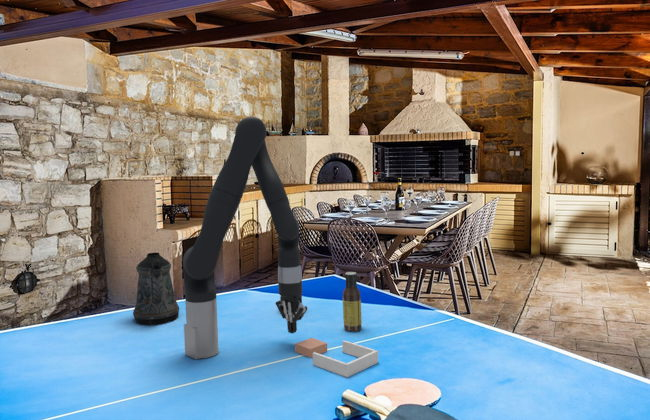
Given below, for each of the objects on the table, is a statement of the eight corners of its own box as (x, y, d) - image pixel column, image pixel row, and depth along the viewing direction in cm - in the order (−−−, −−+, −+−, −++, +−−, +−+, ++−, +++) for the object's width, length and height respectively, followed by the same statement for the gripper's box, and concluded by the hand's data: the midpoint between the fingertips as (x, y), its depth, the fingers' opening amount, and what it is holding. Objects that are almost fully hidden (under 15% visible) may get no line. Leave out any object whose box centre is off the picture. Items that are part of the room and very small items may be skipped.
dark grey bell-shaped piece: (163, 309, 208) (160, 247, 206) (193, 318, 196) (190, 253, 193) (124, 320, 196) (120, 254, 193) (154, 330, 183) (150, 260, 181)
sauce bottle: (353, 325, 185) (352, 269, 183) (365, 329, 180) (364, 272, 178) (339, 329, 181) (338, 272, 179) (351, 333, 176) (350, 275, 174)
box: (347, 377, 142) (346, 365, 141) (312, 364, 151) (312, 352, 150) (378, 362, 151) (378, 350, 151) (344, 351, 161) (344, 340, 160)
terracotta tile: (310, 358, 156) (310, 349, 156) (295, 352, 161) (294, 343, 161) (327, 352, 161) (327, 343, 161) (311, 346, 166) (311, 337, 166)
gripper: (267, 278, 167) (269, 331, 169) (295, 285, 158) (298, 340, 160) (284, 274, 172) (287, 325, 174) (313, 280, 163) (315, 333, 165)
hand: (292, 332), depth 167 cm, fingers closed
